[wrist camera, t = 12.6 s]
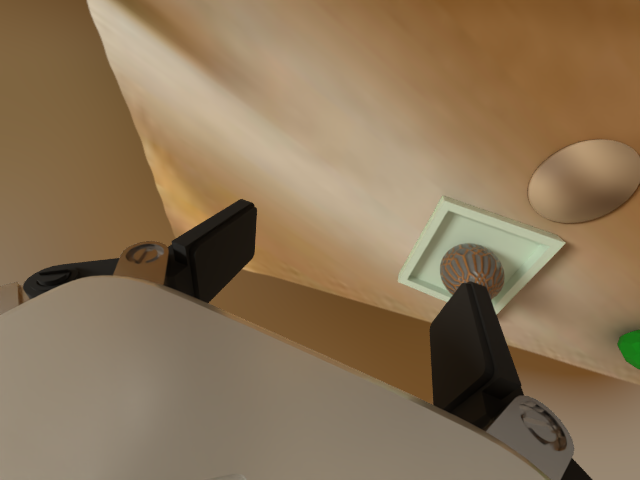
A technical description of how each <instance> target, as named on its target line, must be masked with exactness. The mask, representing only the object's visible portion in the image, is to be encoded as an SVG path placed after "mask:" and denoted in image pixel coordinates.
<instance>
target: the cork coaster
mask: <svg viewBox="0 0 640 480" xmlns="http://www.w3.org/2000/svg"><path fill="white" fill-rule="evenodd" d="M639 183H640V157H639V155H638V154H637V152H636V151H635V150H633V149H632V148H631V147H629V146H628V145H626V144H623V143H620V142H617V141H612V140H603V139H596V140H587V141H582V142H578V143H575V144H572V145H569V146H567V147H565V148H562V149H561V150H559V151H557V152H555V153H554V154H552V155H551V156H549V157H548V158H547V159H546V160H545V161H544V162H543V163H541V164H540V166H539V167H538V168H537V169H536V170H535V172H534V174H533V175H532V177H531V179H530V182H529V185H528V200H529V202H530V204H531V206H532V208H533V209H534V210H535V211H536V212H537V213H539V214H540V215H541V216H543V217H545V218H547V219H549V220H552V221H555V222H561V223H577V222H584V221H589V220H592V219H596V218H598V217H601V216H603V215H605V214H607V213H609V212H611V211H613V210H615V209H616V208H618V207H619V206H620V205H622V204H623V203H624V202H625V201H626V200H628V199H629V197H630V196H631V195H632V194H633V193H634V192H635V190H636V189H637V187H638V185H639Z"/></svg>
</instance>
